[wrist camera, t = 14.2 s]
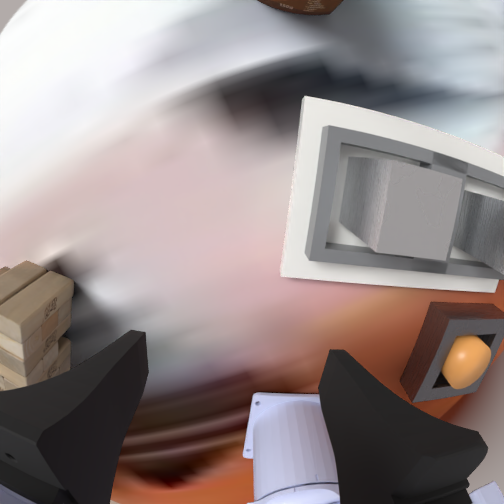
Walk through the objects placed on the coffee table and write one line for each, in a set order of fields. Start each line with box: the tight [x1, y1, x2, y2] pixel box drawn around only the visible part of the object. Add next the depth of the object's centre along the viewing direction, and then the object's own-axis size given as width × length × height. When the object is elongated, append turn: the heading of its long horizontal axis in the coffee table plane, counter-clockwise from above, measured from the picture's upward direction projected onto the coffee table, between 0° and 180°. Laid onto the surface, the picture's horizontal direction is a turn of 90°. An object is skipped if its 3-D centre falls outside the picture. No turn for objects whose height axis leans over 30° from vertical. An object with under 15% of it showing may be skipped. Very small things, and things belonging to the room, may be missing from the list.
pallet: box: [280, 96, 504, 293], centre depth 18 cm, size 11×19×2 cm, turn 84°
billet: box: [339, 156, 463, 261], centre depth 15 cm, size 4×4×6 cm
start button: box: [441, 335, 491, 389], centre depth 20 cm, size 4×4×3 cm
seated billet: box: [453, 190, 504, 275], centre depth 16 cm, size 4×4×6 cm
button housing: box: [400, 302, 504, 403], centre depth 21 cm, size 8×8×3 cm
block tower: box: [0, 260, 74, 391], centre depth 21 cm, size 8×8×29 cm
